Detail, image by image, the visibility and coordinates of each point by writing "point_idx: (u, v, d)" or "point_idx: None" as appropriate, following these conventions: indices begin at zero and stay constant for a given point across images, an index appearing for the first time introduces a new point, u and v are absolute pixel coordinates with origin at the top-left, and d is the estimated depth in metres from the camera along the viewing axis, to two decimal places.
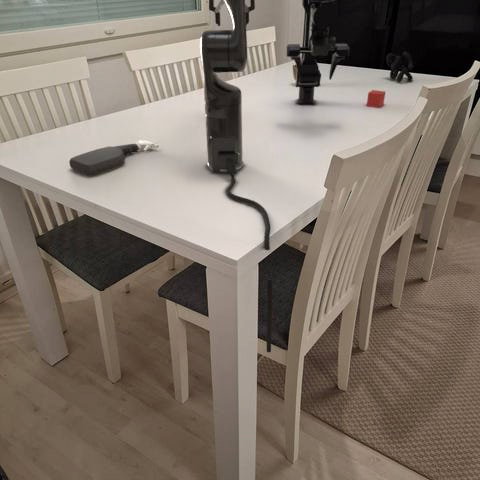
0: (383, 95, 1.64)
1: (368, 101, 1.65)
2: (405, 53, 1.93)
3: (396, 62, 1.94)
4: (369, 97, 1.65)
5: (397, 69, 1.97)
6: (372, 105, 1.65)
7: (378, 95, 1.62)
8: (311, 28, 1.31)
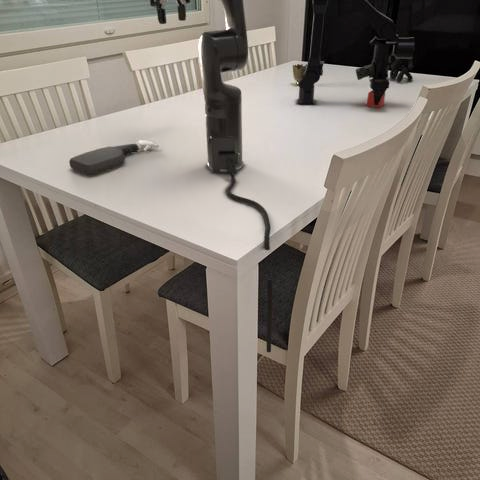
0: (383, 95, 1.64)
1: (368, 101, 1.65)
2: None
3: (396, 62, 1.94)
4: (369, 97, 1.65)
5: (397, 69, 1.97)
6: (372, 105, 1.65)
7: None
8: None
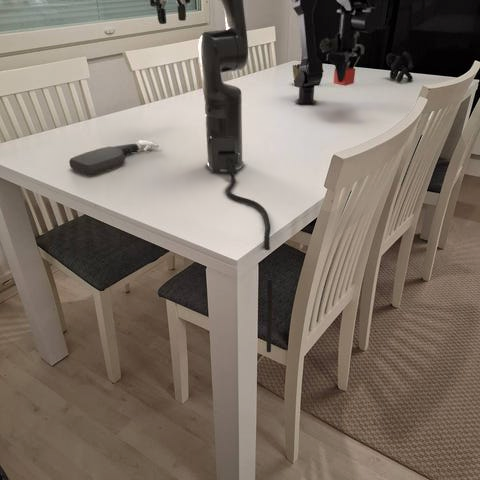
0: (351, 72, 1.48)
1: (334, 78, 1.50)
2: (405, 53, 1.93)
3: (396, 62, 1.94)
4: (335, 73, 1.49)
5: (397, 69, 1.97)
6: (338, 83, 1.50)
7: None
8: None
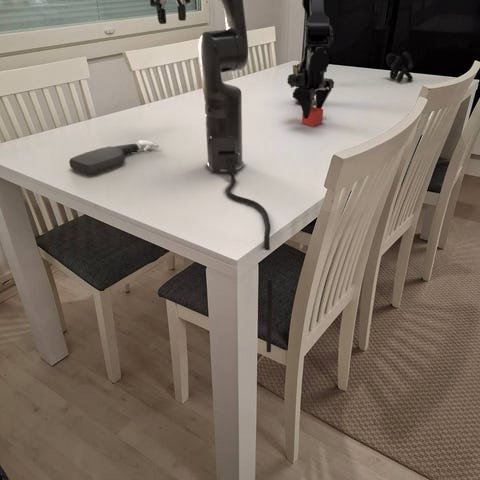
0: (319, 113, 1.46)
1: (303, 118, 1.49)
2: (405, 53, 1.93)
3: (396, 62, 1.94)
4: None
5: (397, 69, 1.97)
6: (307, 123, 1.48)
7: (311, 113, 1.45)
8: None
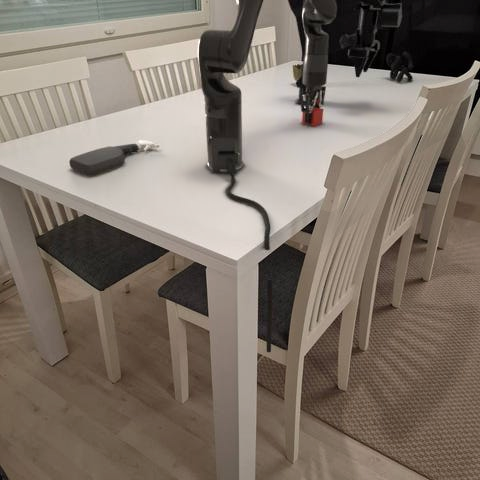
0: (319, 113, 1.46)
1: (303, 118, 1.49)
2: (405, 53, 1.93)
3: (396, 62, 1.94)
4: (303, 114, 1.48)
5: (397, 69, 1.97)
6: None
7: None
8: None
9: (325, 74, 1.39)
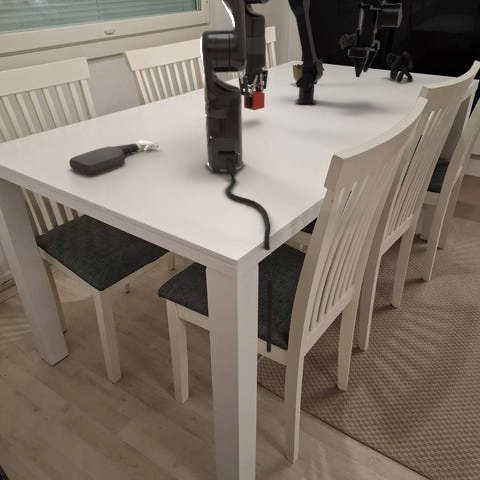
0: (260, 97, 1.45)
1: (244, 102, 1.47)
2: (405, 53, 1.93)
3: (396, 62, 1.94)
4: None
5: (397, 69, 1.97)
6: None
7: (252, 96, 1.43)
8: None
9: (263, 56, 1.38)
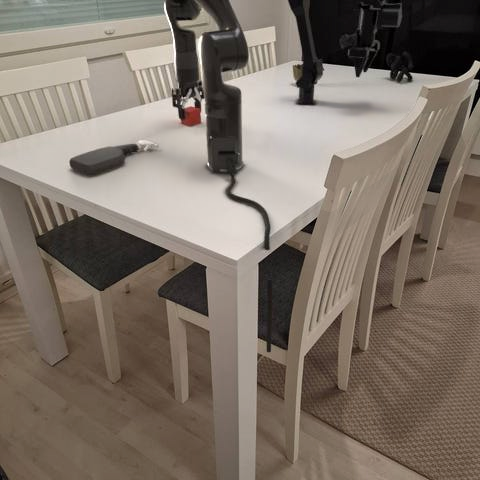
0: (196, 113, 1.49)
1: None
2: (405, 53, 1.93)
3: (396, 62, 1.94)
4: None
5: (397, 69, 1.97)
6: (185, 123, 1.51)
7: (187, 112, 1.48)
8: None
9: (195, 71, 1.41)
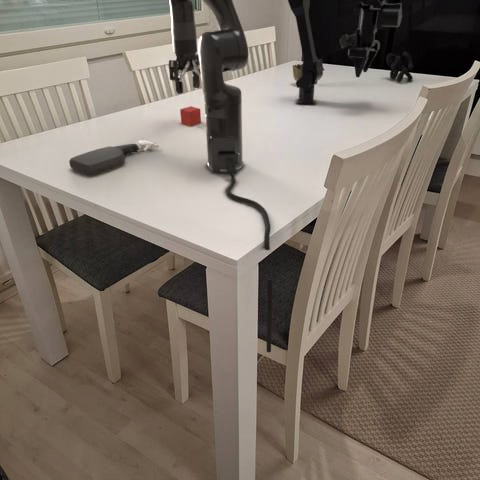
0: (196, 113, 1.49)
1: (181, 118, 1.51)
2: (405, 53, 1.93)
3: (396, 62, 1.94)
4: (181, 114, 1.50)
5: (397, 69, 1.97)
6: (185, 123, 1.51)
7: (187, 112, 1.48)
8: None
9: (193, 42, 1.37)
